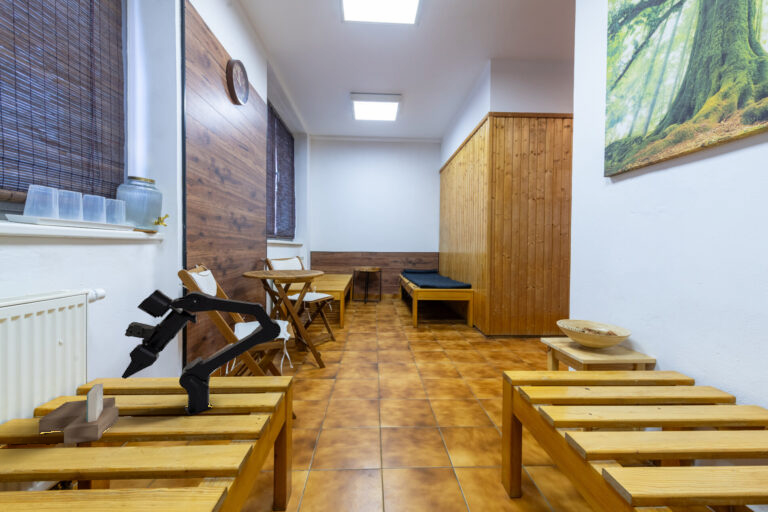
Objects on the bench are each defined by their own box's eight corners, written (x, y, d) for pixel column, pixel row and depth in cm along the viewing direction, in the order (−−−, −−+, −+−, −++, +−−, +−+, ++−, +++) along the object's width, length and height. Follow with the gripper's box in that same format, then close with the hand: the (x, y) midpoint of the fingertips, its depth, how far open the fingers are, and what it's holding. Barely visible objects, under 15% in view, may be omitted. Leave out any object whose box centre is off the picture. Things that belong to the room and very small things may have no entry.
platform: (130, 408, 94) (130, 395, 94) (98, 439, 79) (98, 424, 79) (66, 415, 90) (66, 401, 90) (17, 450, 74) (17, 434, 74)
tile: (102, 409, 86) (103, 383, 86) (96, 420, 80) (96, 392, 80) (93, 411, 85) (93, 384, 85) (86, 422, 79) (86, 394, 79)
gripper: (152, 306, 97) (111, 347, 93) (135, 318, 81) (85, 369, 76) (183, 325, 101) (146, 366, 97) (174, 340, 84) (128, 390, 80)
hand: (128, 371), depth 87 cm, fingers open, 9 cm apart
